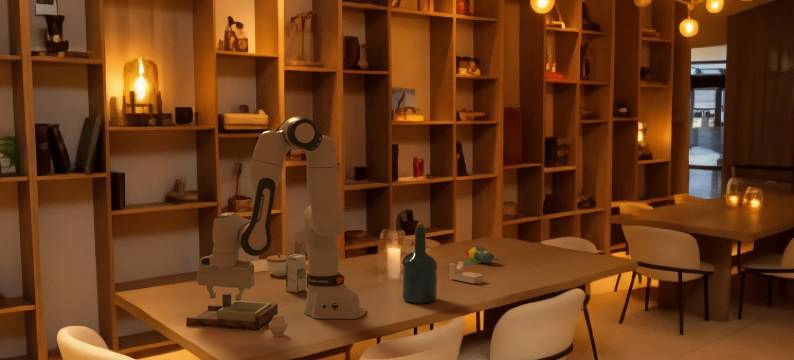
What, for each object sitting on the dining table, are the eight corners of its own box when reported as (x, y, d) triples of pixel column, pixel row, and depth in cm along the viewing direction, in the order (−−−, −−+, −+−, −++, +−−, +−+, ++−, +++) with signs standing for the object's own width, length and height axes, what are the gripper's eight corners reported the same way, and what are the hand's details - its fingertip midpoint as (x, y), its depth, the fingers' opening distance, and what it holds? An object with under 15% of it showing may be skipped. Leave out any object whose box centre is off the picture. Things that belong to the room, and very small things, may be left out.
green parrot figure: (488, 241, 366) (510, 246, 354) (487, 257, 367) (510, 263, 355) (447, 247, 348) (469, 252, 337) (446, 264, 349) (469, 271, 338)
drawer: (271, 314, 256) (271, 291, 255) (255, 325, 243) (255, 301, 242) (231, 311, 259) (231, 289, 258) (214, 322, 246) (213, 299, 245)
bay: (277, 316, 258) (277, 303, 257) (258, 330, 241) (258, 317, 240) (209, 311, 263) (209, 299, 262) (186, 325, 246) (186, 312, 245)
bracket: (449, 280, 316) (449, 263, 315) (459, 278, 321) (459, 261, 320) (473, 285, 307) (473, 268, 306) (483, 282, 312) (483, 265, 311)
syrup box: (294, 288, 298) (294, 253, 297) (306, 290, 295) (306, 255, 294) (285, 291, 293) (285, 255, 292) (297, 293, 290) (297, 257, 289)
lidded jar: (287, 277, 317) (287, 256, 316) (263, 276, 319) (263, 255, 318) (294, 272, 327) (294, 252, 327) (271, 271, 329) (271, 251, 328)
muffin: (291, 335, 236) (291, 314, 235) (276, 339, 232) (276, 318, 231) (279, 331, 240) (279, 310, 240) (264, 335, 236) (264, 314, 235)
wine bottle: (428, 294, 290) (429, 220, 287) (442, 303, 277) (443, 225, 275) (396, 297, 285) (397, 221, 282) (409, 306, 273) (409, 227, 270)
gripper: (257, 259, 251) (257, 299, 252) (202, 256, 255) (202, 294, 256) (250, 263, 245) (250, 303, 246) (194, 259, 249) (194, 299, 250)
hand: (225, 299), depth 251 cm, fingers open, 8 cm apart
